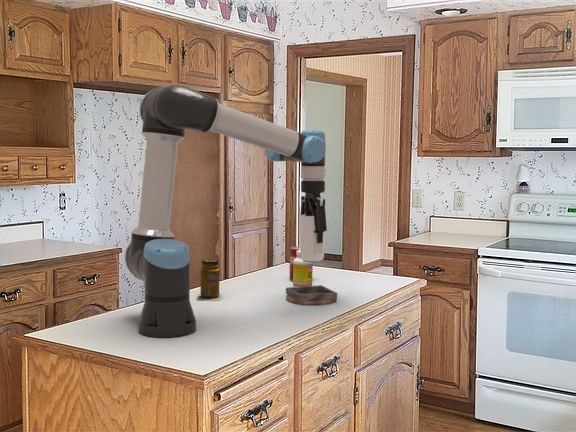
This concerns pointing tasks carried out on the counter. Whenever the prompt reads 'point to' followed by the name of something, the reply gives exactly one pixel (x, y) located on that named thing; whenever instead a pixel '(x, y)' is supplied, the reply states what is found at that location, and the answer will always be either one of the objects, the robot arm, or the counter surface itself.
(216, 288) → the condiment
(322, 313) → the counter surface
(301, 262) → the supplement bottle
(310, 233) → the cup
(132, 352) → the counter surface
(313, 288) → the dark brown tray
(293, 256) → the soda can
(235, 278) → the counter surface
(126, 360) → the counter surface
